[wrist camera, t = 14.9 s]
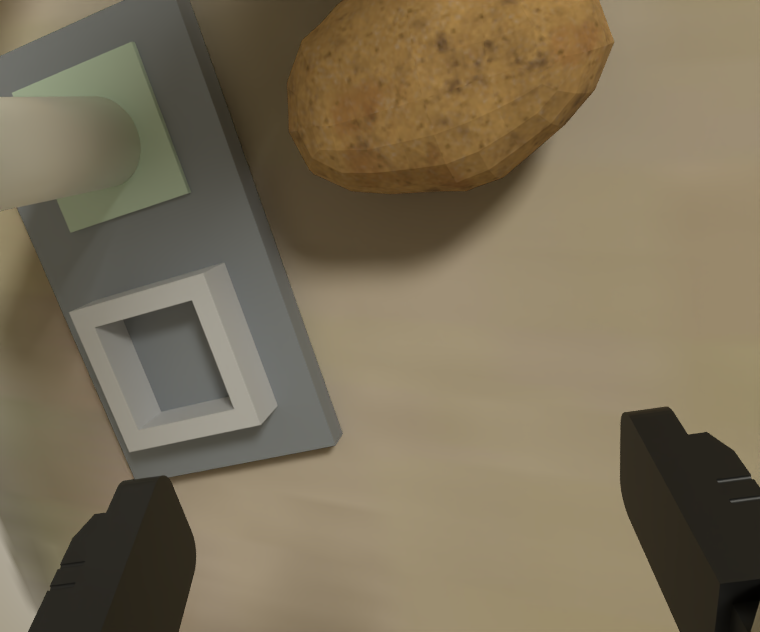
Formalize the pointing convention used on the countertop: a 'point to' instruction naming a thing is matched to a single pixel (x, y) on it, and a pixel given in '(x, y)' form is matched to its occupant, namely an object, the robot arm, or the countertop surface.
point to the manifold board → (172, 256)
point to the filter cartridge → (63, 147)
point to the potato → (440, 88)
